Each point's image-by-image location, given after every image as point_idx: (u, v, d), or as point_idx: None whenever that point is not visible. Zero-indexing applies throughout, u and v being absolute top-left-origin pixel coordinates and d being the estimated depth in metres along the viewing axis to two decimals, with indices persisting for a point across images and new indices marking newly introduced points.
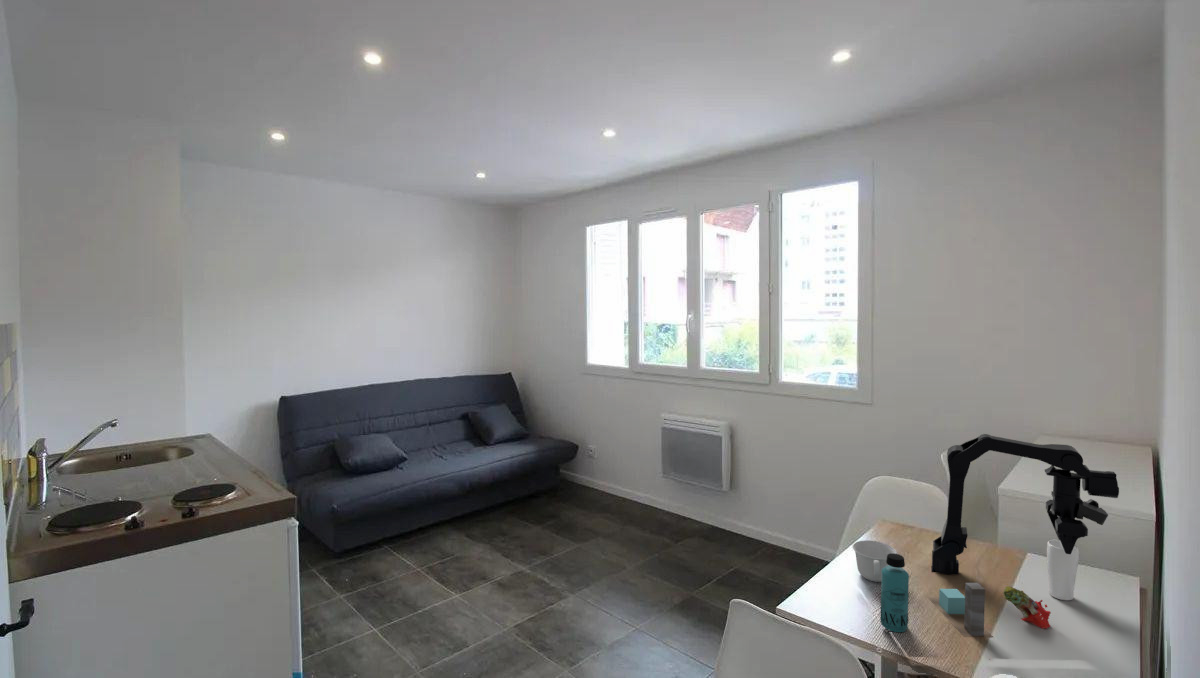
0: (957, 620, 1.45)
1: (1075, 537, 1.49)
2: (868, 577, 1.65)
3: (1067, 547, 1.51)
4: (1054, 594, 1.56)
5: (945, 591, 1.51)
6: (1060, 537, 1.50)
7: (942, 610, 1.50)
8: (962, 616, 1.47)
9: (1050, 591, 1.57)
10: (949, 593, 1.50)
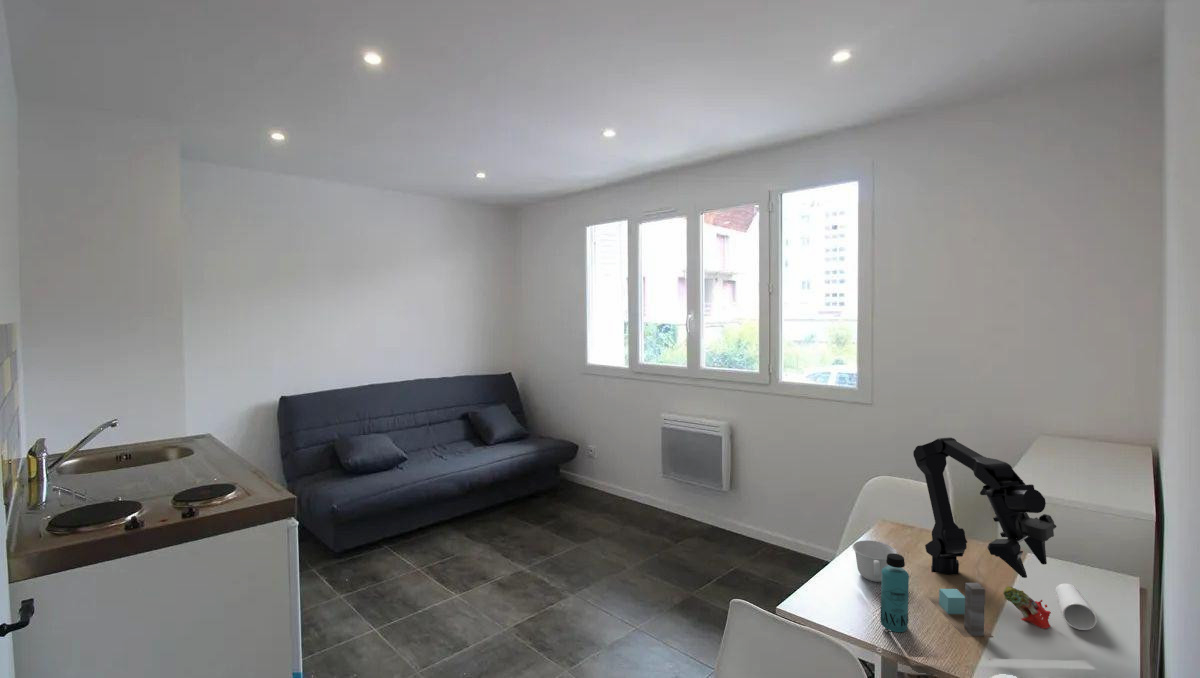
0: (957, 620, 1.45)
1: (1015, 558, 1.42)
2: (868, 577, 1.65)
3: (1018, 570, 1.43)
4: (1057, 596, 1.54)
5: (945, 591, 1.51)
6: (1004, 560, 1.44)
7: (942, 610, 1.50)
8: (962, 616, 1.47)
9: (1055, 592, 1.54)
10: (949, 593, 1.50)
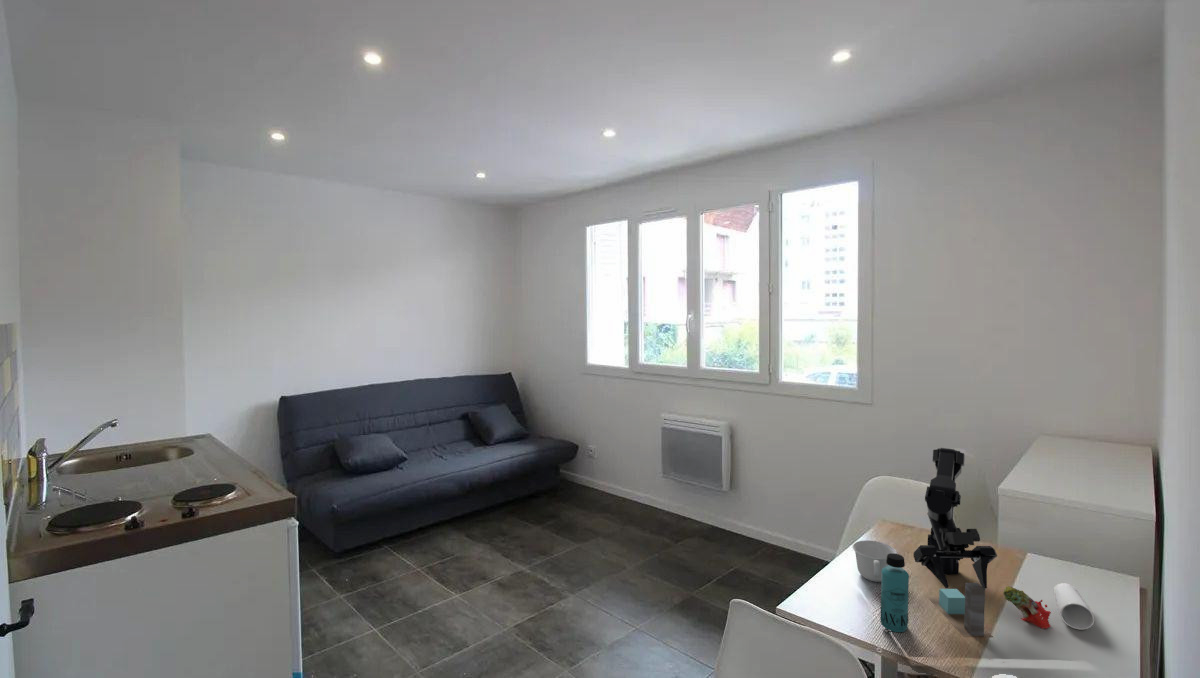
0: (957, 620, 1.45)
1: (934, 564, 1.47)
2: (868, 577, 1.65)
3: (940, 579, 1.45)
4: None
5: (945, 591, 1.51)
6: (931, 570, 1.48)
7: (942, 610, 1.50)
8: (962, 616, 1.47)
9: (1054, 593, 1.55)
10: (949, 593, 1.50)
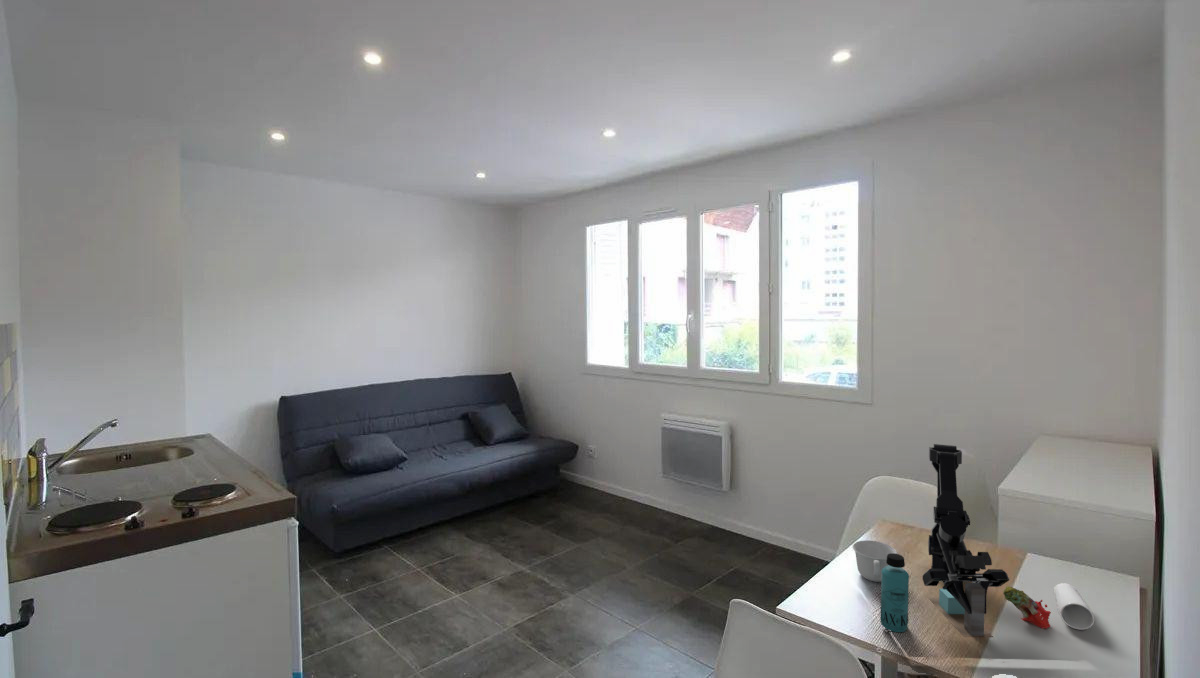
0: (957, 620, 1.45)
1: (956, 588, 1.42)
2: (868, 577, 1.65)
3: (963, 604, 1.40)
4: None
5: (945, 591, 1.51)
6: (952, 595, 1.44)
7: (942, 610, 1.50)
8: (962, 616, 1.47)
9: (1054, 593, 1.55)
10: (949, 593, 1.50)
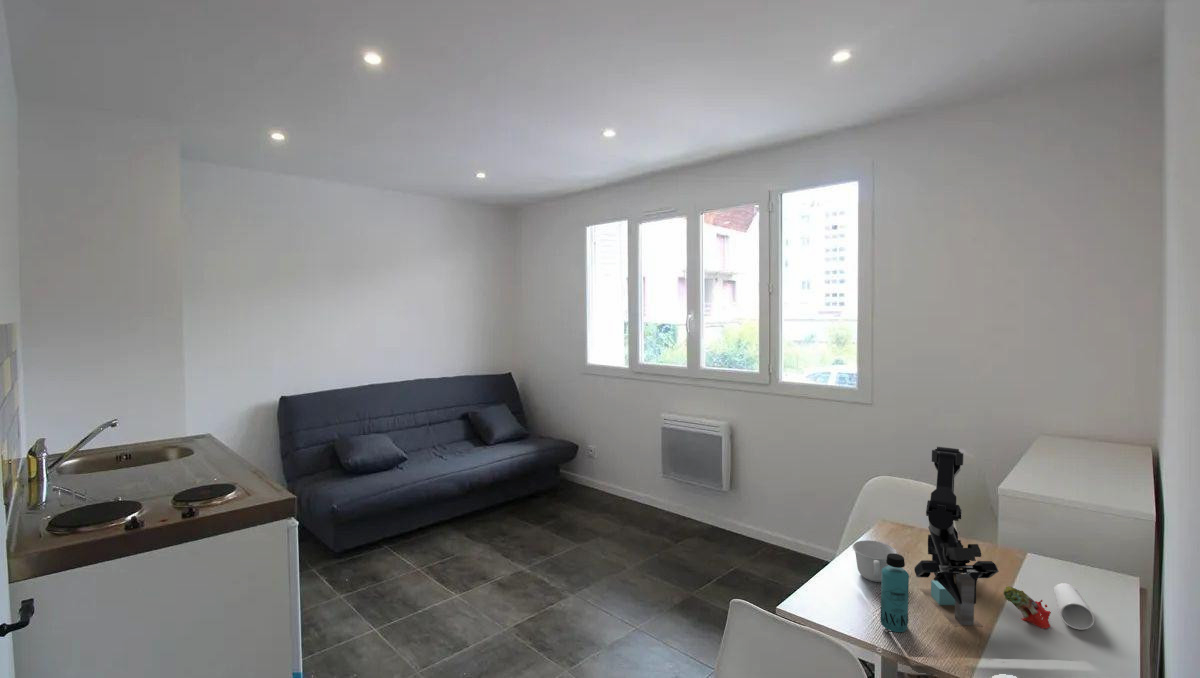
0: (948, 610, 1.50)
1: (947, 579, 1.46)
2: (868, 577, 1.65)
3: (953, 595, 1.45)
4: None
5: (936, 582, 1.55)
6: (943, 586, 1.48)
7: (934, 601, 1.54)
8: (953, 607, 1.51)
9: (1054, 593, 1.55)
10: (940, 584, 1.54)
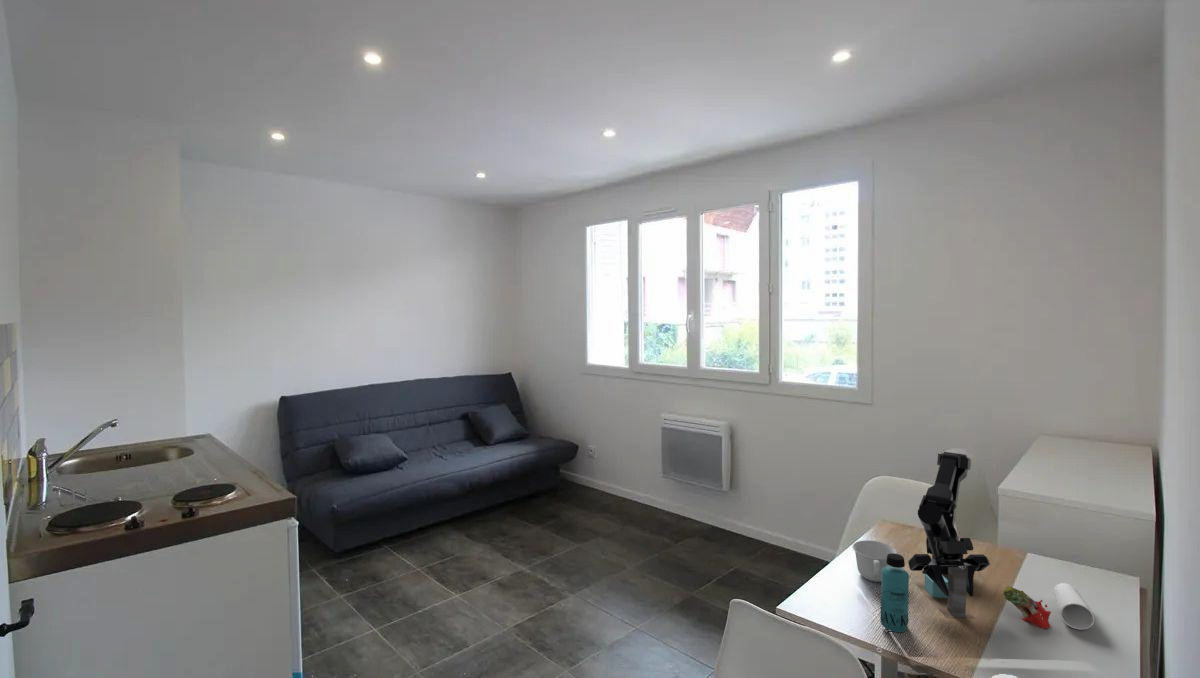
0: (941, 603, 1.53)
1: (934, 572, 1.50)
2: (868, 577, 1.65)
3: (941, 587, 1.48)
4: None
5: None
6: (931, 578, 1.52)
7: (927, 594, 1.58)
8: (946, 599, 1.55)
9: (1054, 593, 1.55)
10: None
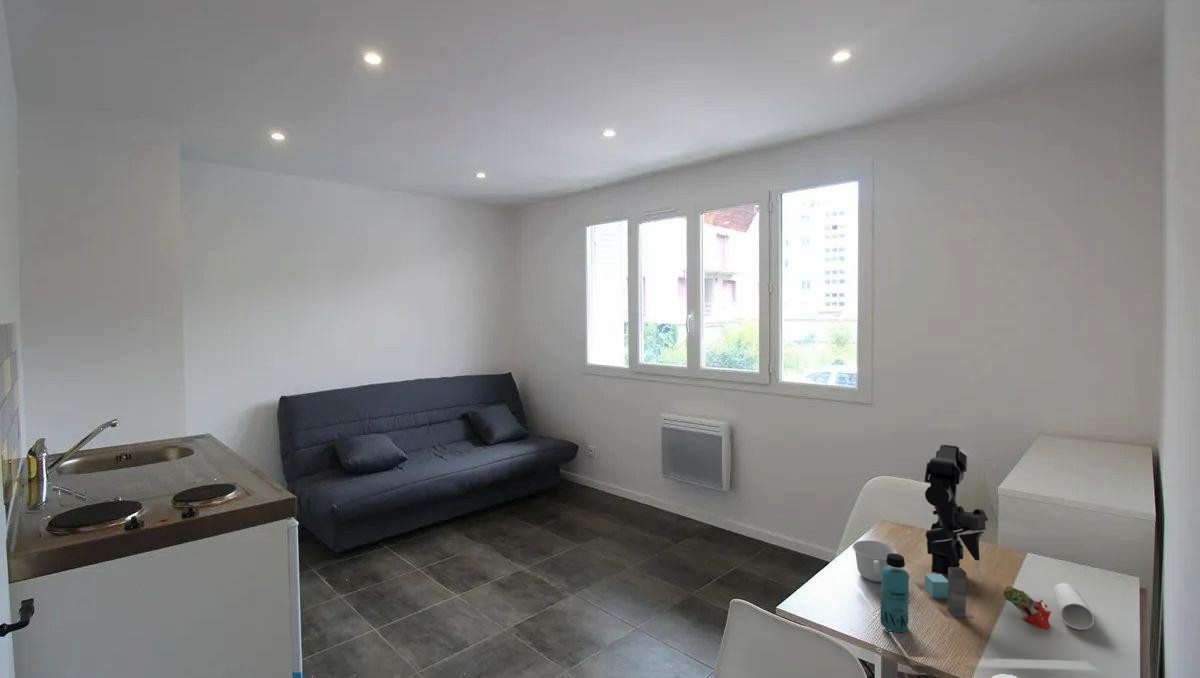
0: (941, 603, 1.53)
1: (949, 545, 1.52)
2: (868, 577, 1.65)
3: (952, 558, 1.52)
4: None
5: (930, 576, 1.59)
6: (940, 549, 1.54)
7: (927, 594, 1.58)
8: (946, 599, 1.55)
9: (1054, 593, 1.55)
10: (934, 578, 1.58)
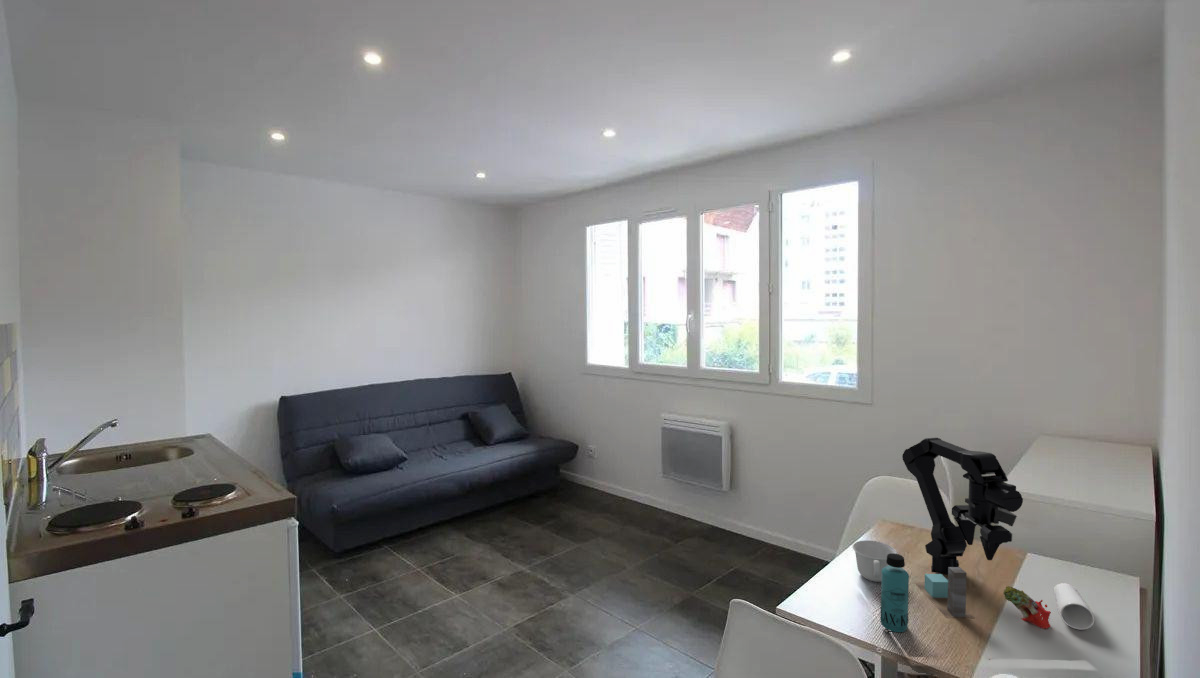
0: (941, 603, 1.53)
1: (998, 543, 1.50)
2: (868, 577, 1.65)
3: (990, 553, 1.52)
4: None
5: (930, 576, 1.59)
6: (985, 545, 1.51)
7: (927, 594, 1.58)
8: (946, 599, 1.55)
9: (1054, 593, 1.55)
10: (934, 578, 1.58)
